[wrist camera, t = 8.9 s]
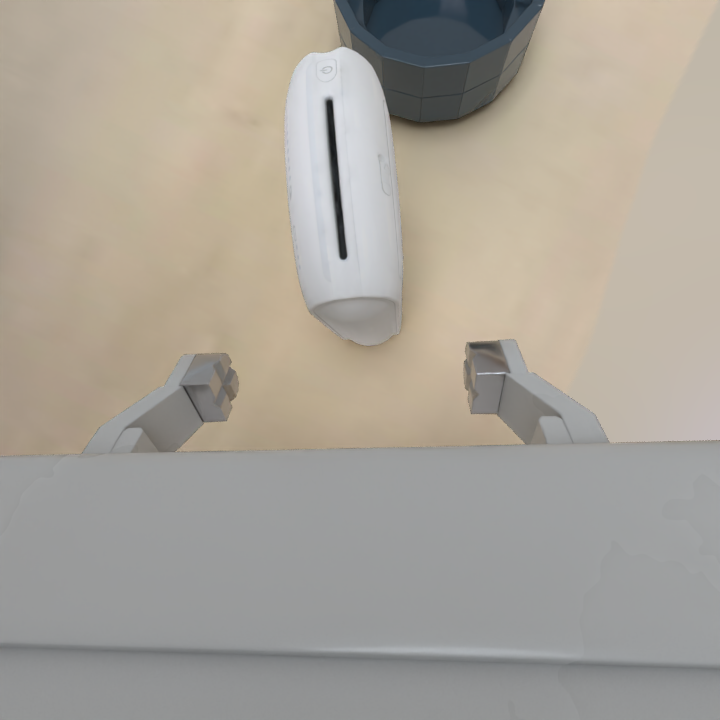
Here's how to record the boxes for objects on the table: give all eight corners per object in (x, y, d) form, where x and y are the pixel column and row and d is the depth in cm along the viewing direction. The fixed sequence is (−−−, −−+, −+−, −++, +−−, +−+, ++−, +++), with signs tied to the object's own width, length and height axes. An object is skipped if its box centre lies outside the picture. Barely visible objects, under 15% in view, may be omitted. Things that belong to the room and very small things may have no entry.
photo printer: (325, 193, 26) (257, 21, 14) (390, 184, 25) (382, -1, 13) (338, 349, 25) (280, 319, 13) (406, 343, 25) (412, 305, 12)
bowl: (347, 136, 26) (335, 78, 21) (341, -31, 27) (327, -125, 22) (531, 118, 25) (564, 52, 20) (519, -56, 25) (548, -162, 20)
